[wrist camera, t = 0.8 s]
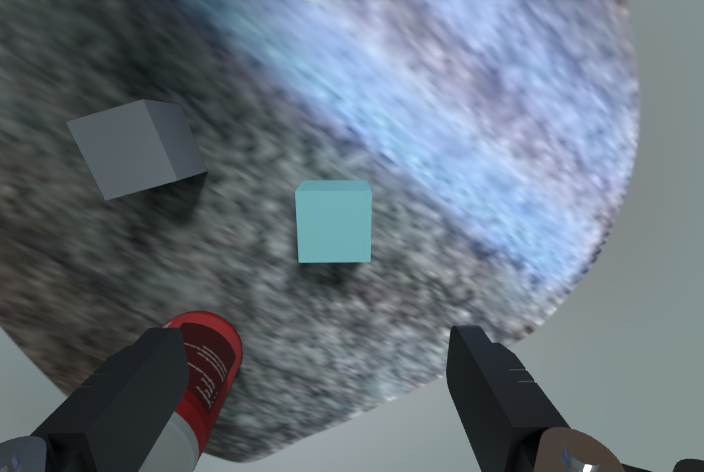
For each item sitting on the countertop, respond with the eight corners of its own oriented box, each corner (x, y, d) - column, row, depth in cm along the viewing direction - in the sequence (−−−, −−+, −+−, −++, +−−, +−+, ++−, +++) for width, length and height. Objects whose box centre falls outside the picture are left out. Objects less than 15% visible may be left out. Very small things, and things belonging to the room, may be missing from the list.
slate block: (119, 123, 25) (65, 121, 20) (181, 104, 25) (143, 99, 20) (148, 187, 26) (105, 200, 22) (208, 171, 26) (177, 180, 21)
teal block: (303, 180, 27) (295, 191, 22) (366, 180, 27) (371, 191, 22) (306, 240, 28) (298, 262, 23) (365, 239, 28) (370, 262, 23)
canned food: (164, 379, 32) (77, 502, 21) (156, 305, 29) (52, 402, 19) (246, 383, 32) (199, 505, 22) (243, 309, 30) (190, 407, 19)
